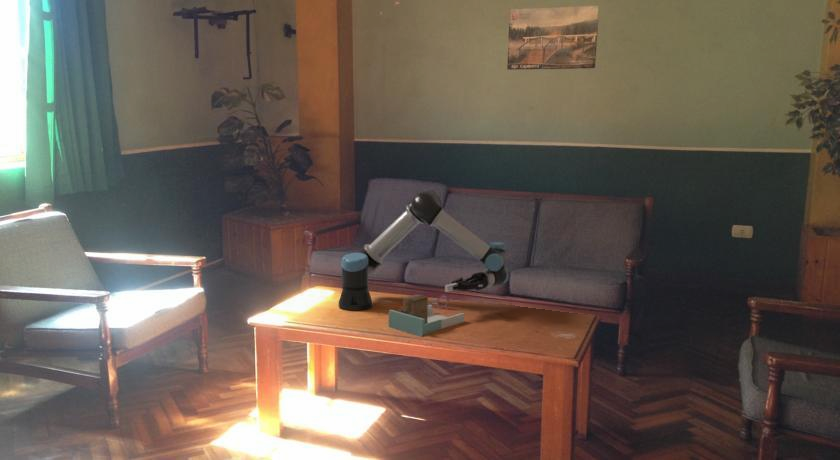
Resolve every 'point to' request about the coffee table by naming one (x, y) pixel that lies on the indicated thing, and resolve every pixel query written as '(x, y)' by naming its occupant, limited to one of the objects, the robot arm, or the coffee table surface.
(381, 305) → the coffee table surface
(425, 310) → the walnut block
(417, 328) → the teal and white tray
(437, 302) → the decorative key
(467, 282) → the robot arm
